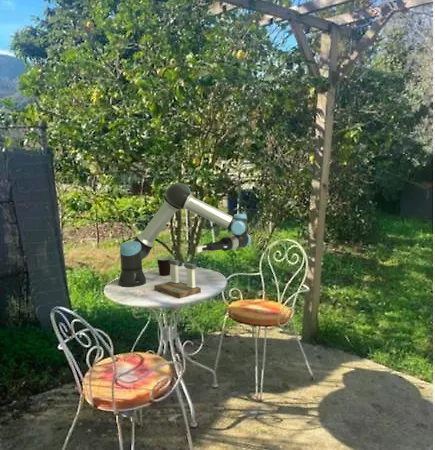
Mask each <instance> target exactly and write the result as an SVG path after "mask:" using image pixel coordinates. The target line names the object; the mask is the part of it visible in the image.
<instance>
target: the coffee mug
mask: <svg viewBox="0 0 435 450" xmlns="http://www.w3.org/2000/svg"><path fill="white" fill-rule="evenodd" d="M156 259H157V260H156V261H157V267H158V272H159V276H160V277H167V276H171V268H170V264H169V260H171V259H172V257H170V256H169V257H168V256H164V257H158V258H156Z"/></svg>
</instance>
